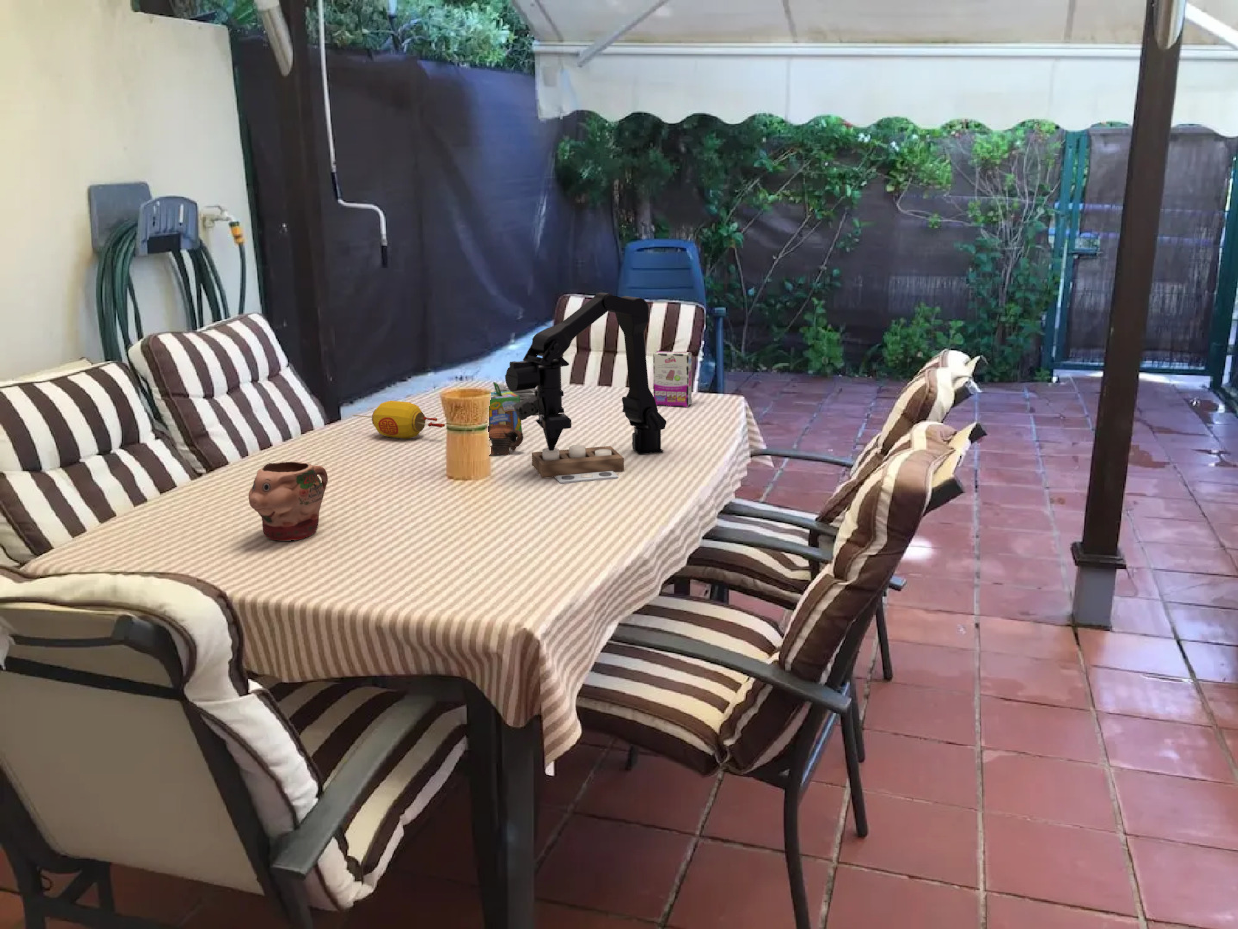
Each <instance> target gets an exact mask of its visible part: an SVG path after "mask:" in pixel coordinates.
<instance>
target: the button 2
mask: <svg viewBox="0 0 1238 929" xmlns="http://www.w3.org/2000/svg"><path fill="white" fill-rule="evenodd" d="M607 455H611V450H608V449H599V450H596V451H595V456H607Z"/></svg>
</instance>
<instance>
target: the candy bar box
mask: <svg viewBox="0 0 1238 929" xmlns="http://www.w3.org/2000/svg"><path fill="white" fill-rule="evenodd" d="M692 357H693V356H692V351H691V352H690V351H689V352H686V351H685V352H684V351H661V350H658V351H656V352H654V353H653V356H652V359H653V360H652V361H653V364H652V365H653V396H654V398H655V401H656V405H657V407H670V408H671V407H673V408H675V407H676V408H689V407H690V406H691V405H692V402H693V401H692V398H693V397H692V392H693V391H692V388H693V387H692V386H693V385H692V382H693V381H692V375H693V374H692V370H693V368H692V364H693V363H692Z"/></svg>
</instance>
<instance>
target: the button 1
mask: <svg viewBox="0 0 1238 929" xmlns="http://www.w3.org/2000/svg"><path fill="white" fill-rule="evenodd" d="M559 450H560V449H559V448H556V447H555V448H554V450H552V451H549V449H548V447H547V448H544V449H543V448H542V451H541V452H543V461H547V460H559Z"/></svg>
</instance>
